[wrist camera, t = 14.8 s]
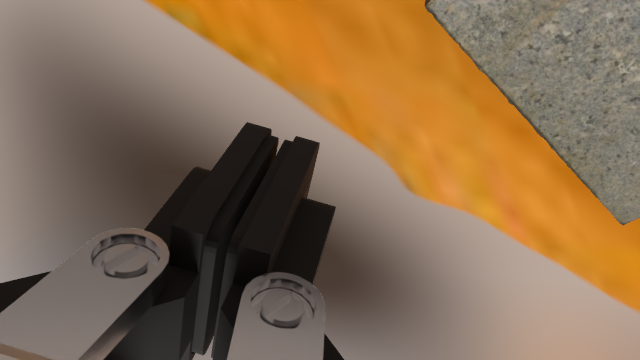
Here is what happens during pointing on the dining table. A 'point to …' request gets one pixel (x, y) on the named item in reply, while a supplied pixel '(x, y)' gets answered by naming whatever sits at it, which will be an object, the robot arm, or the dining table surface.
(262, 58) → the dining table surface
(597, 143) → the stone block
